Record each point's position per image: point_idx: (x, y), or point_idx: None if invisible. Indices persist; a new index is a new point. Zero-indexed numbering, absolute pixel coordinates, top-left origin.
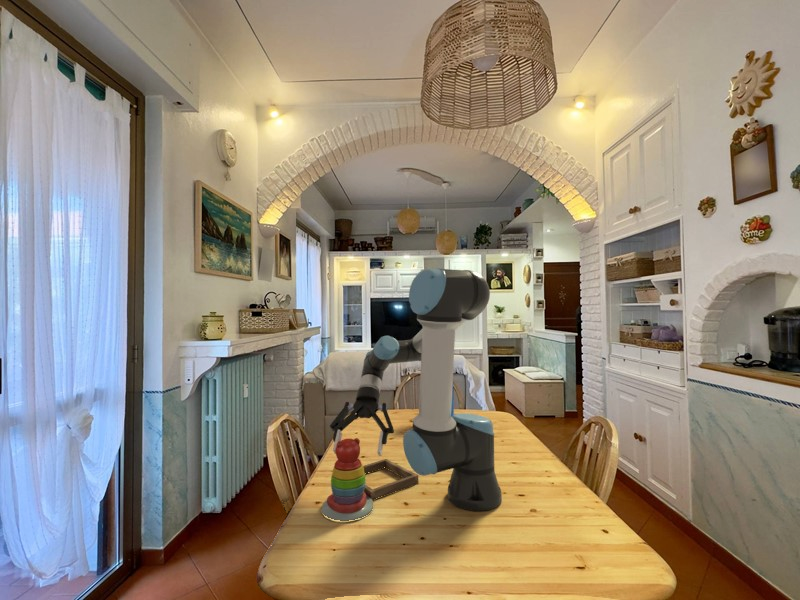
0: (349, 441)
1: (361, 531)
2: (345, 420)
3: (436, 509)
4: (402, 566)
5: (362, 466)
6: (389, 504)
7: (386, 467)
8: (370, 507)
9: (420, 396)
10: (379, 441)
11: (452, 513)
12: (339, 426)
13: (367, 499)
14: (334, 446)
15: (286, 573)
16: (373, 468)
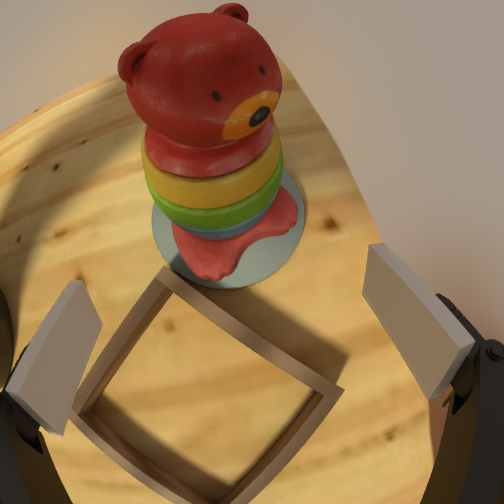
0: (173, 19)
1: None
2: (486, 456)
3: (27, 270)
4: (90, 105)
5: (141, 144)
6: (118, 266)
7: (210, 501)
8: (156, 214)
9: None
10: (49, 325)
11: (8, 262)
12: (488, 372)
13: (177, 254)
14: (390, 254)
15: None
16: (247, 479)
